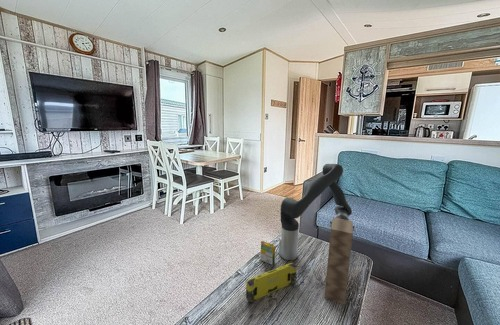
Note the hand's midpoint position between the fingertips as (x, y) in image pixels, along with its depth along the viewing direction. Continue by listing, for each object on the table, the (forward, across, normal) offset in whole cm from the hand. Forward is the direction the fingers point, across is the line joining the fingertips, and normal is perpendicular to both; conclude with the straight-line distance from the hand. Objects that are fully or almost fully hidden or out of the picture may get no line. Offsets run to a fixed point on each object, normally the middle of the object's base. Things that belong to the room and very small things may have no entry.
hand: (341, 233), depth 115 cm
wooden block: (+27, 0, +15) cm, 31 cm away
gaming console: (+40, -26, +15) cm, 49 cm away
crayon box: (+21, -35, +15) cm, 43 cm away
